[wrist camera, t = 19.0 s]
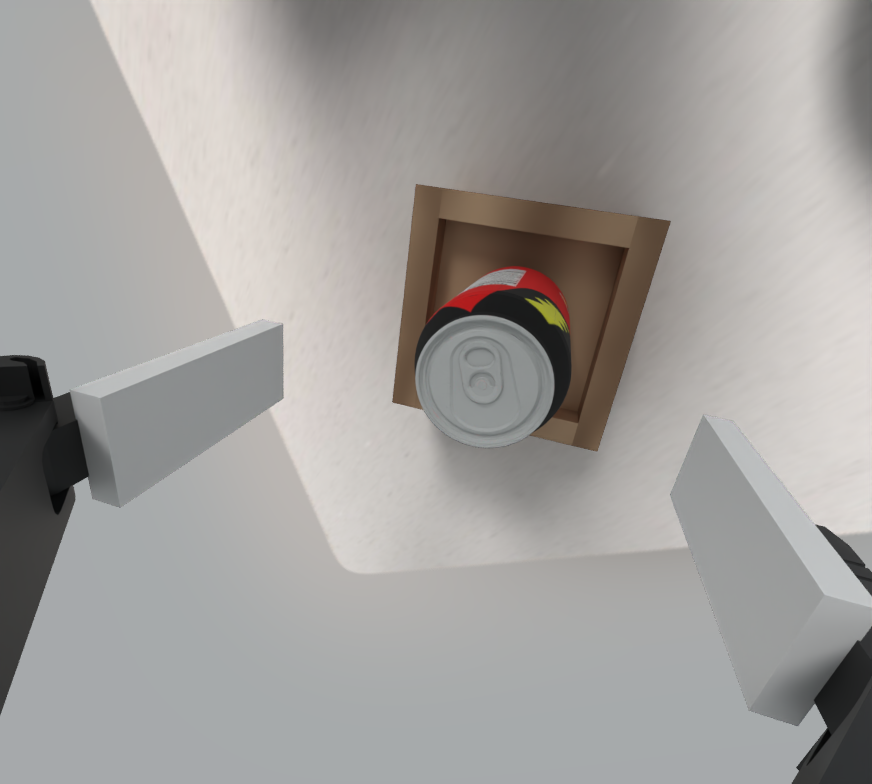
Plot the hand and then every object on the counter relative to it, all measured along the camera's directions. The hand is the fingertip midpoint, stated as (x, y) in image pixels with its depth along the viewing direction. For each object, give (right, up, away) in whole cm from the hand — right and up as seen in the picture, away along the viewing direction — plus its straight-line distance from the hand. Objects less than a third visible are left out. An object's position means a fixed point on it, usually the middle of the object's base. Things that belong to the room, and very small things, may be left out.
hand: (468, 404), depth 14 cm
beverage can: (+4, +5, +13) cm, 15 cm away
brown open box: (+5, +7, +19) cm, 21 cm away
